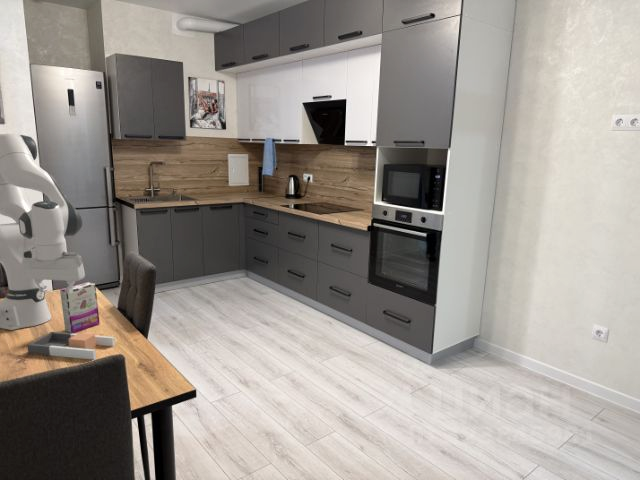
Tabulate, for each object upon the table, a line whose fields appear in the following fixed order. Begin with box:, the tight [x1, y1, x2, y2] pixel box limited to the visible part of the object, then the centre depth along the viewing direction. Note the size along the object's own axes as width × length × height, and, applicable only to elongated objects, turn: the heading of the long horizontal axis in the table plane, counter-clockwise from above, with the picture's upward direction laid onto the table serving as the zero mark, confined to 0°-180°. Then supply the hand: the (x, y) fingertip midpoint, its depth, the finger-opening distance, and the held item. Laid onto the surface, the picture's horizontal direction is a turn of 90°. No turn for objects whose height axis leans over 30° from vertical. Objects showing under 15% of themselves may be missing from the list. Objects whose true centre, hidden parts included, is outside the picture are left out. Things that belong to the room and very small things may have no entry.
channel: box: [49, 333, 116, 360], centre depth 151 cm, size 16×11×3 cm
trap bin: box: [26, 331, 72, 356], centre depth 153 cm, size 8×11×3 cm
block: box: [68, 332, 97, 350], centre depth 151 cm, size 6×5×5 cm
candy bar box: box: [59, 281, 101, 334], centre depth 168 cm, size 11×5×16 cm, turn 148°
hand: (56, 292), depth 149 cm, fingers open, 8 cm apart
